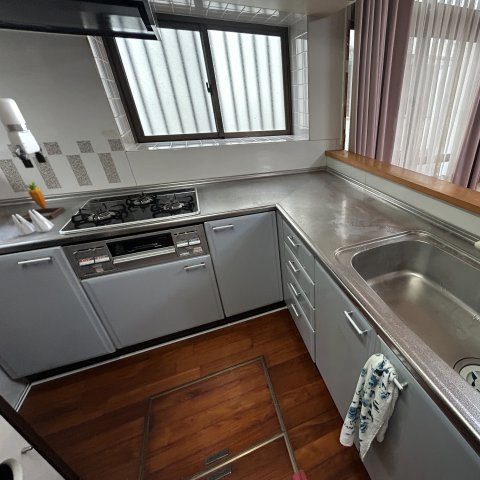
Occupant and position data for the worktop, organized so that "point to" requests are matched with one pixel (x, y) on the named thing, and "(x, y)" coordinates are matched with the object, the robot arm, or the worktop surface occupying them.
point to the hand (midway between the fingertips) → (36, 165)
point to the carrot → (37, 195)
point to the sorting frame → (55, 211)
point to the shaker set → (38, 221)
